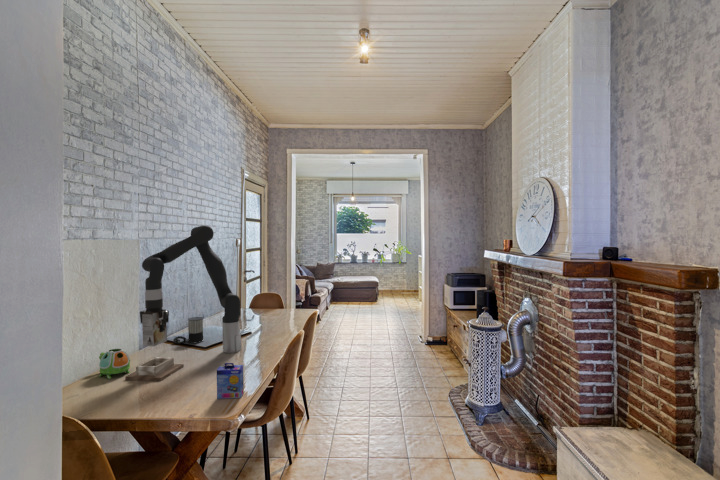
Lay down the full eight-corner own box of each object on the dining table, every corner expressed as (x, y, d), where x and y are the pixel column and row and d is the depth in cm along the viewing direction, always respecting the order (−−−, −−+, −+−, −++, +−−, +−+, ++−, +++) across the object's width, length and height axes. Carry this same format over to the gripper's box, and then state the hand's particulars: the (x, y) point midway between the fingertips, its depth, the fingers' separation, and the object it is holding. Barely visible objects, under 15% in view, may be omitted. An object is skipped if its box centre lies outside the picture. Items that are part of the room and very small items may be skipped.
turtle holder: (115, 366, 193) (114, 343, 193) (136, 372, 185) (135, 348, 184) (88, 374, 182) (88, 350, 182) (109, 381, 174) (108, 355, 174)
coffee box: (156, 340, 188) (155, 309, 187) (167, 341, 186) (166, 309, 186) (142, 346, 179) (141, 312, 178) (153, 346, 177) (152, 313, 177)
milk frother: (206, 340, 238) (206, 317, 238) (183, 347, 225) (183, 322, 225) (193, 337, 246) (193, 315, 246) (170, 343, 233) (170, 320, 232)
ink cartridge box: (216, 399, 152) (215, 364, 152) (220, 393, 158) (219, 360, 157) (241, 398, 153) (240, 363, 153) (244, 392, 159) (243, 359, 158)
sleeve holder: (183, 366, 191) (183, 356, 191) (161, 380, 173) (160, 369, 173) (150, 366, 193) (150, 355, 193) (125, 379, 175) (125, 368, 175)
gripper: (172, 296, 185) (173, 330, 185) (145, 296, 187) (146, 329, 187) (162, 299, 178) (163, 334, 178) (134, 299, 179) (135, 333, 180)
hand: (154, 331), depth 183 cm, fingers closed on coffee box, 6 cm apart
